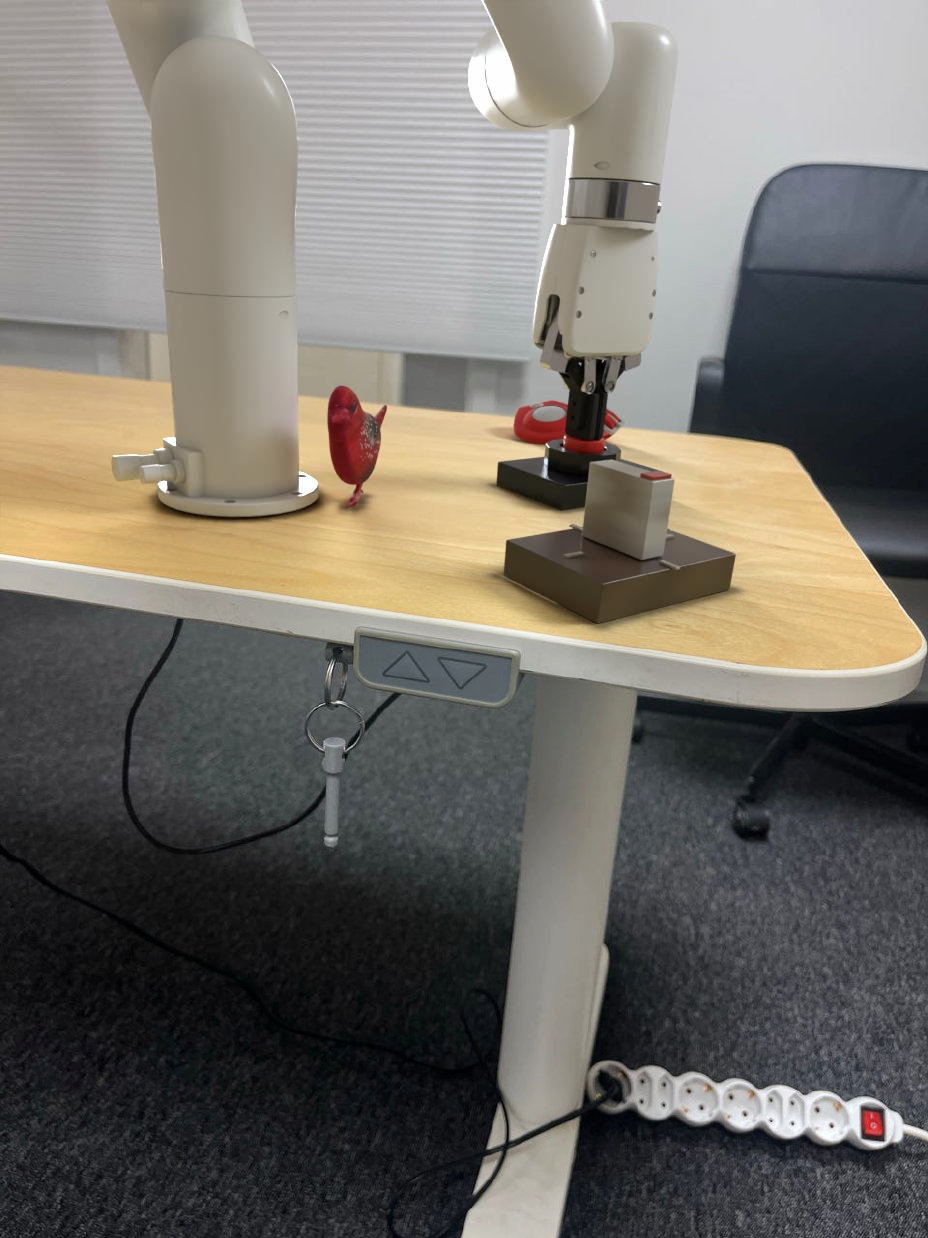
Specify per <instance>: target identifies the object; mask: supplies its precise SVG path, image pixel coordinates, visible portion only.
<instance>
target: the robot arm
mask: <svg viewBox="0 0 928 1238" xmlns="http://www.w3.org/2000/svg"><path fill="white" fill-rule="evenodd" d="M105 1H106V4H107V6H108V10H109V13H110V15H111V18H112V21H113V23H114V26H115V28H116V31H117V34H118V37H119V39H120V43H121V45H122V47H123V51H124V52H125V55H126V58H127V61H128V64H129V66H130V71H131V72H132V75H133V76H134V80H135V83H136V86H137V89H138V91H139V94H140V97H141V99H142V102H143V105H144V107H145V110H146V113H147V115H148V118H149V127H150V128H149V129H150V138H151V139H150V140H151V151H152V162H153V171H154V173H153V174H154V182H155V184H154V185H155V193H156V207H157V215H158V216H157V217H158V218H157V219H158V230H159V242H160V243H159V245H160V257H161V258H160V259H161V272H162V285H163V287H162V288H163V290H164V303H165V317H166V319H165V320H166V330H167V331H166V332H167V333H166V334H167V345H168V358H169V360H168V361H169V375H170V387H171V388H170V389H171V402H172V414H173V415H172V416H173V431H174V437H163V438H162V440H163V441H162V444H163V447H161V448H154V449H153V450H152V453H149V454H140V455H139V454H122V455H112V457H111V463H110V465H111V471H112V475H113V478H114V480H115V481H116V482H117V483H118V482H127V481H138V480H139V481H140V483H141V484H142V485H148V484H157V486H156V487H157V495H158V496H157V498H158V499H159V501H160V502H162V503H163V504H164V505H165V506H167V507H169V508H172V509H175V510H177V511H181V512H184V513H189V514H194V515H195V514H196V515H201V516H210V517H226V518H251V517H263V516H273V515H280V514H284V513H285V514H286V513H290V512H291V513H292V512H294V511H298V510H302V509H304V508H306V507H308V506H311V505H312V504H314V502H316V501H317V500H318V498H319V496H320V493H319V491H320V490H319V489H320V487H319V486H320V485H319V483H318V480H317V479H316V478H314V477H313V476H312V475H309V474H307V473H305V472H302V471H300V433H299V431H300V430H299V424H300V423H299V373H298V372H299V370H298V308H297V307H298V306H297V300H298V299H297V281H296V280H297V275H296V274H297V273H296V269H297V268H296V267H297V265H296V263H297V262H296V225H297V223H296V221H297V220H296V218H297V217H296V215H297V214H296V213H297V193H298V192H297V189H298V173H299V172H298V171H299V134H298V133H299V131H298V122H297V116H296V111H295V106H294V102H293V98H292V96H291V94H290V91H289V89H288V87H287V85H286V83H285V81H284V79H283V77H282V75H281V74H280V72H279V71H278V69H277V68H276V67H275V66H274V64H273V63H272V62H271V61H270V60H269V59H268V58H267V57H266V56H265V55H264V54H263V53H262V52H261V51H259V50H258V49H256V46H255V42H254V39H253V36H252V32H251V29H250V26H249V23H248V20H247V16H246V13H245V10H244V9H245V8H244V6H243V2H242V0H105ZM481 1H482V4H483V5H484V8H485V10H486V11H487V14H488V16H489V18H490V21H491V23H492V25H493V26H492V27H491V28H490V29H489V30H488V31H487V32H486V33H485V34H484V35H483V36H482V37H481V39H480V40H479V41H478V43H477V45H476V46H475V48H474V50H473V52H472V55H471V58H470V61H469V64H468V78H467V79H468V87H469V93H470V96H471V98H472V101H473V103H474V105H475V107H476V108H477V109H478V111H479V112H480V113H481V115H482V116H483V117H484V118H485V119H487V120H488V121H489V122H490V123H491V124H492V125H495V126H497V127H499V128H502V129H504V130H508V131H513V132H534V131H535V132H536V131H549V130H550V131H551V130H567V131H570V132H569V133H570V134H569V144H568V152H567V153H568V154H567V163H566V171H565V172H566V174H565V184H564V195H563V203H562V214H561V216H562V217H561V223H554V224H553V226H552V229H551V232H550V235H549V238H548V242H547V245H546V249H545V252H544V257H543V260H542V265H541V270H540V276H539V281H538V286H537V293H536V299H535V305H534V313H533V322H532V343H533V345H534V347H536V348H537V349H539V350H541V351H542V352H541V354H540V358H539V364H540V367H542V368H545V369H547V370H551V371H553V372H558V374H559V375H560V377H561V379H562V380H563V387H564V389H566V390H568V399H567V400H568V401H567V405H568V407H567V416H566V426H565V433H566V435H568V436H572V437H575V438H578V439H582V440H585V441H591V440H601V439H602V437H603V431H604V423H605V415H606V407H608V399H609V394H612V393H613V392H614V390H615V389H616V386H617V381H618V380H619V378H620V377H621V376H622V374H623V373H624V372H627V371H629V370H632V369H635V368H638V367H640V365H641V363H642V352H644V351H645V350H646V349H647V348H648V346H649V343H650V340H651V337H652V331H653V325H654V319H655V318H654V317H655V309H656V302H657V291H658V289H657V288H658V273H659V271H658V270H659V268H658V267H659V242H658V239H659V238H658V231H656V223H657V218H658V217H657V216H658V215H659V214H660V212H661V209H662V202H661V200H660V195H661V189H662V188H661V185H662V179H663V171H664V165H665V156H666V149H667V143H668V136H669V128H670V122H671V114H672V106H673V98H674V93H675V92H674V91H675V84H676V77H677V69H678V62H679V61H678V60H679V59H678V58H679V46H678V42H677V41H678V40H677V39H676V36H675V35H674V34H673V33H672V32H671V31H670V30H668V29H667V28H665V27H663V26H660V25H657V24H653V23H647V22H641V21H640V22H638V21H611V17H610V14H609V9H608V7H607V4H606V1H605V0H481Z"/></svg>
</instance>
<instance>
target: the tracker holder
mask: <svg viewBox="0 0 928 1238" xmlns="http://www.w3.org/2000/svg"><path fill="white" fill-rule="evenodd" d="M567 407H568V403H565V402H562V401H558V400H554V399H552V400H551V399H550V400H546V401H542V402H540V401H535V402H532V403H530V404H528V405H524V406H519V407H518V408H517V410H516V413H515V416H514V420H513V426H512V427H513V429H512V430H513V434H514V436H516V438H519V439H520V440H522V441H524V442H527V443H530V444H537V445H546V443H548V442H550V441H552V440H559V439H564V436H565V435H566V433H565V426H566V416H567ZM625 424H626V421H625V420H624V419H623V418H621V417H620V416H619V415H617V414H616V413H615V412H614V411H613V410H612V409H610V408H609V407H608V406H607V407H606V415H605V423H604V431H603V437H602V438H604V439H605V441H606V440H608V439H610V438H612V436H614V435H615V434H616V433H617V432H618V431H619V430H620V429H621V428H622V427H623V426H625Z"/></svg>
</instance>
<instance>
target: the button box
mask: <svg viewBox="0 0 928 1238" xmlns="http://www.w3.org/2000/svg"><path fill="white" fill-rule="evenodd" d="M563 441H564V439H559V440H552V441H550V442H548V443H546V444H545V448H544V456H537V457H529V458H519V459H511V460H500V461H498V462H497V469H496V472H497V473H496V482H495V483H496V484H495V485H496V486H497V487H500V488H502V489H505V490H508V491H510V492H511V493H515V494H517V495H520V496H523V497H525V498H528V499H530V500H533V501H534V502H535V501H536V502H538V503H541V504H543V505H545V506H548V507H551V508H553V509H556V510H559V511H561V512H564V511H570V510H576V509H582V508H583V509H584V508H585V503H586V495H587V486H588V477H589V468H590V462H596V461H604V460H615V461H618V462H622V463H625V464H628V465H631V466H635V467H638V468H641V469H644V470H648V471H651V472H654V471H662V470H659V469H656V468H653V467H649V466H646V465H643V464H640V463H637V462H633V461H630V460H627V459H623V458H622V449H621V448H620V447H619V446H617V445H615V444H611V443H608V442H605V443H604V451H601V452H581V451H575V450H569V449H566V448H563ZM662 472H664V471H662Z"/></svg>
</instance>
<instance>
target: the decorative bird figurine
mask: <svg viewBox="0 0 928 1238" xmlns="http://www.w3.org/2000/svg"><path fill="white" fill-rule="evenodd" d="M387 410H388V406H387V405H386V404H385V405H383V406H382V407H381V408H380V409H379V411H378V412H377V414H375V416H374V415H373V414H371V413H370V412H367V411H365V410H363V408H362V404H361V401H360V400H359V397H358V395H357V394H356V393H355V392H354V391H353V390H352V389H351V388H350V387H348V386H346V385H337V386H336V387H334V389H333V390H332V391H331V393H330V395H329V398H328V403H327V416H326V417H327V418H326V419H327V421H326V422H327V425H326V426H327V432H328V447H329V454H330V455H329V456H330V460H331V463H332V466H333V470H334V472H335V473H336V475H337V476H338V478H339V480H341V481H342V482H343V483H345V484H346V485H347V484H348V485H352V486H355V489H354V490H353V491H352V496H351V497H350V498H349V500H348V504H347V505H346V509H348V508H349V507H355V506H357V504H358V503H359V501H360V500H361V498H362V494H364V490H363V489H362V487H363V485H364V483H365V482H367V481H368V480H369V478H370V477H371V476H372V474H373V472H374V470H375V468H376V465H377V463H378V462H377V461H378V458H379V453H380V449H381V442H382V440H381V439H382V431H381V427H382V425H383V422H384V419H385V417H386V414H387Z"/></svg>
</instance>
